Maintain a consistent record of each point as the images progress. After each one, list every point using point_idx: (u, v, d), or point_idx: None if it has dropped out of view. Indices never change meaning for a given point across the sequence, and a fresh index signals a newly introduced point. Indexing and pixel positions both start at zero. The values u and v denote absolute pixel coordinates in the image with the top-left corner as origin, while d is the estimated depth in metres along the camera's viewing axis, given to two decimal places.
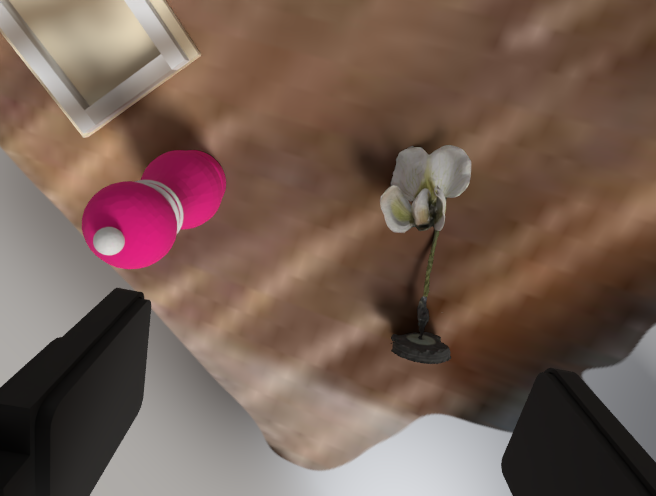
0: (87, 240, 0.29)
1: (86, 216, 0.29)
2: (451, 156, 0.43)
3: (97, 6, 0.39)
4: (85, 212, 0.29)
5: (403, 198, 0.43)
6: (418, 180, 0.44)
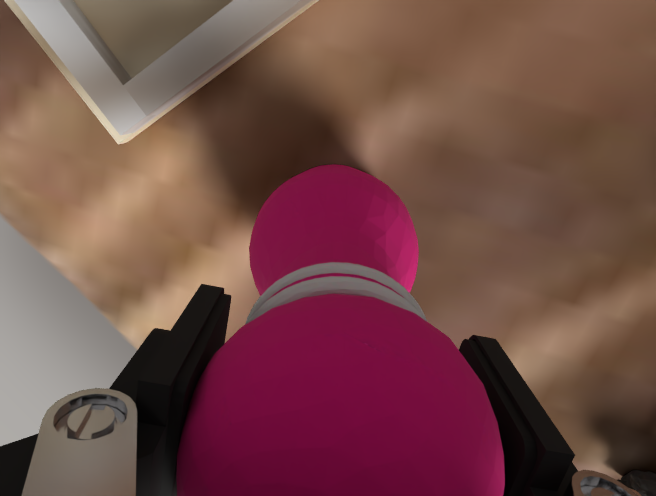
0: None
1: (208, 480, 0.07)
2: None
3: None
4: (199, 454, 0.07)
5: None
6: None
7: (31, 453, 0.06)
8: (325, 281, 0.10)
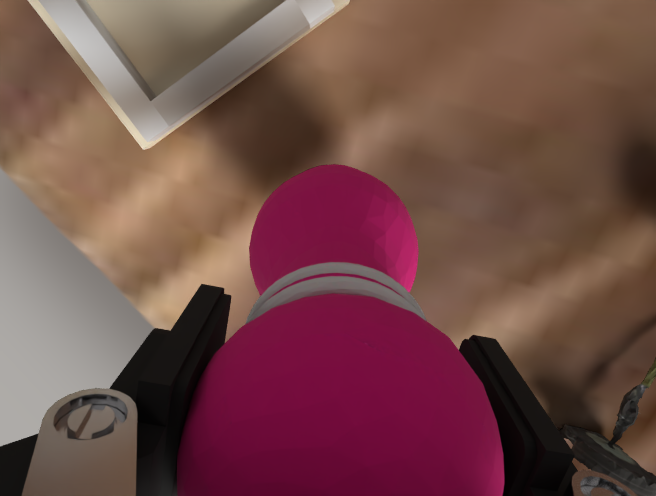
0: None
1: (208, 479, 0.07)
2: None
3: None
4: (199, 453, 0.07)
5: None
6: None
7: (31, 453, 0.06)
8: (325, 281, 0.10)
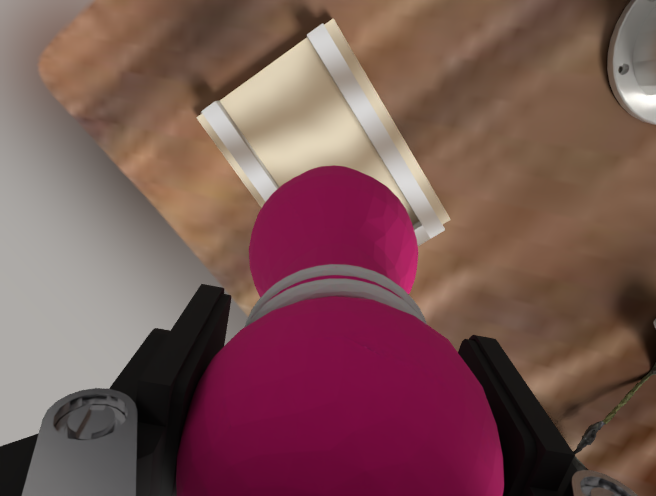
0: None
1: (207, 483, 0.07)
2: None
3: None
4: (199, 457, 0.07)
5: None
6: None
7: (30, 453, 0.06)
8: (324, 283, 0.10)
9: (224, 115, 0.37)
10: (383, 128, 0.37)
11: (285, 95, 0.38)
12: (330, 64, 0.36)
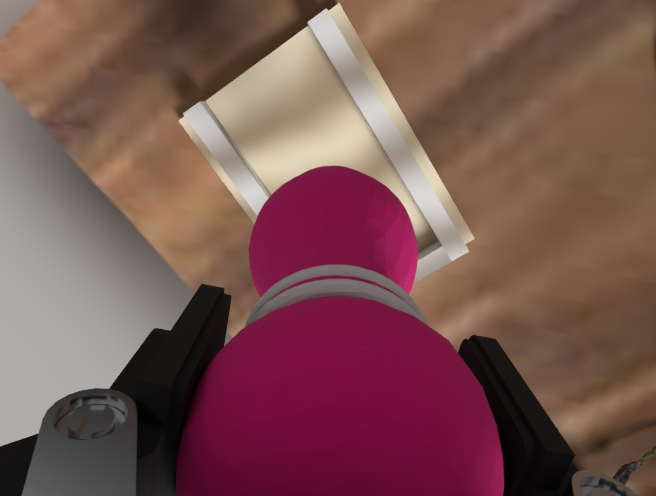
0: None
1: (207, 484, 0.07)
2: None
3: None
4: (198, 458, 0.07)
5: None
6: None
7: (30, 453, 0.06)
8: (324, 284, 0.10)
9: (210, 118, 0.31)
10: (398, 133, 0.32)
11: (282, 94, 0.32)
12: (336, 57, 0.30)
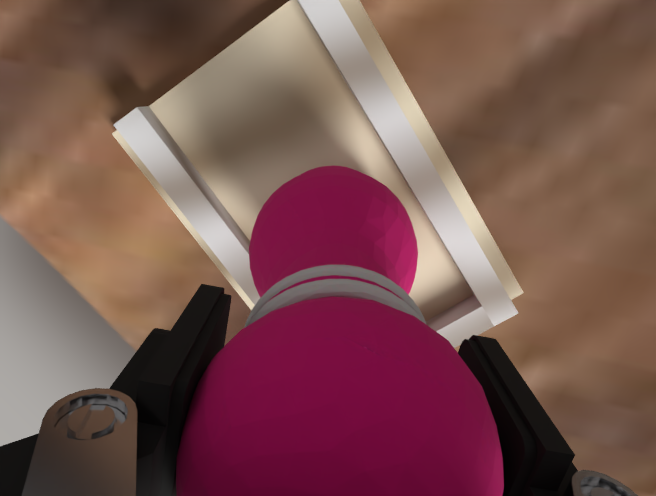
0: None
1: (207, 483, 0.07)
2: None
3: None
4: (199, 457, 0.07)
5: None
6: None
7: (30, 453, 0.06)
8: (324, 284, 0.10)
9: (153, 131, 0.22)
10: (423, 152, 0.22)
11: (258, 97, 0.23)
12: (334, 43, 0.20)
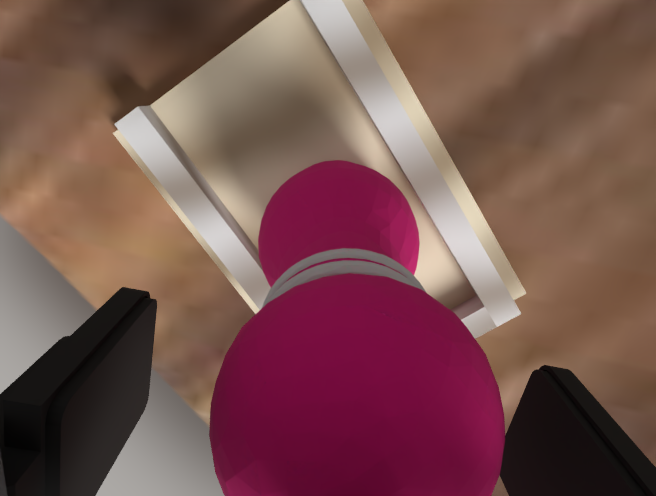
0: None
1: (245, 432, 0.07)
2: None
3: None
4: (236, 411, 0.08)
5: None
6: None
7: None
8: (339, 264, 0.11)
9: (155, 130, 0.22)
10: (426, 152, 0.22)
11: (260, 96, 0.22)
12: (336, 42, 0.20)
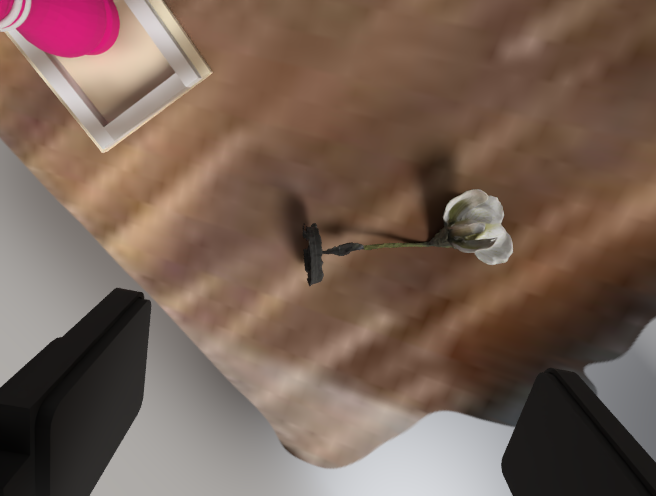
0: None
1: None
2: (503, 244, 0.48)
3: None
4: None
5: (467, 209, 0.46)
6: (479, 219, 0.47)
7: None
8: None
9: None
10: None
11: None
12: None
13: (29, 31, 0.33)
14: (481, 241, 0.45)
